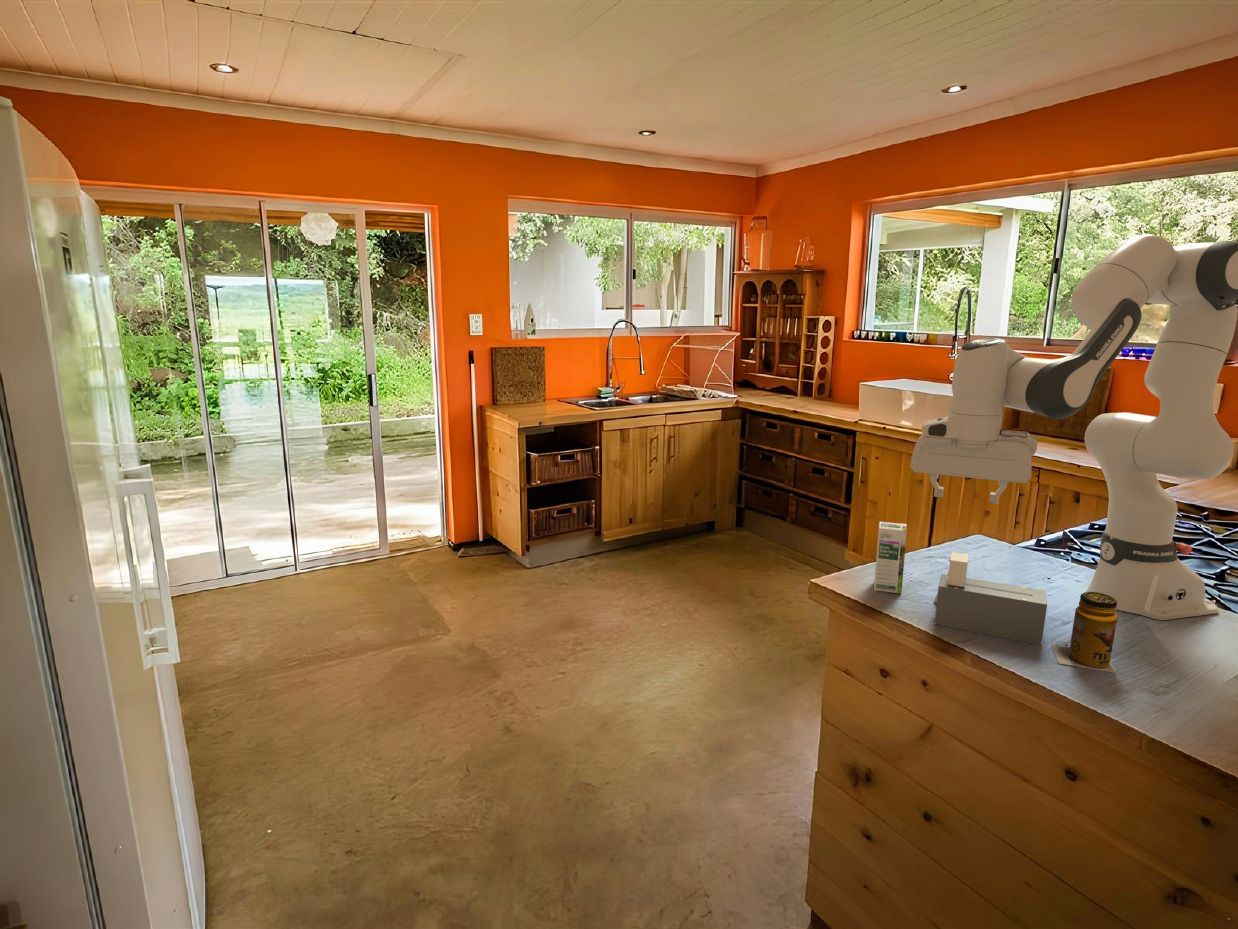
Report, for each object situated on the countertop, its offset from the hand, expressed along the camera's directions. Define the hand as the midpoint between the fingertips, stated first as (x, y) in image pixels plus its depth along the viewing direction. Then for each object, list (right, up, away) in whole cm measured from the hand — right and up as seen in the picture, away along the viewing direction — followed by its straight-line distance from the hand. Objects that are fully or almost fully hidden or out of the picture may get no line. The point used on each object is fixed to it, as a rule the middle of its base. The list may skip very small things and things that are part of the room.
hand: (965, 499), depth 131 cm
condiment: (+16, -28, -9) cm, 33 cm away
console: (+5, -25, +3) cm, 26 cm away
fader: (0, -16, +4) cm, 17 cm away
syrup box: (-6, -21, +22) cm, 31 cm away
